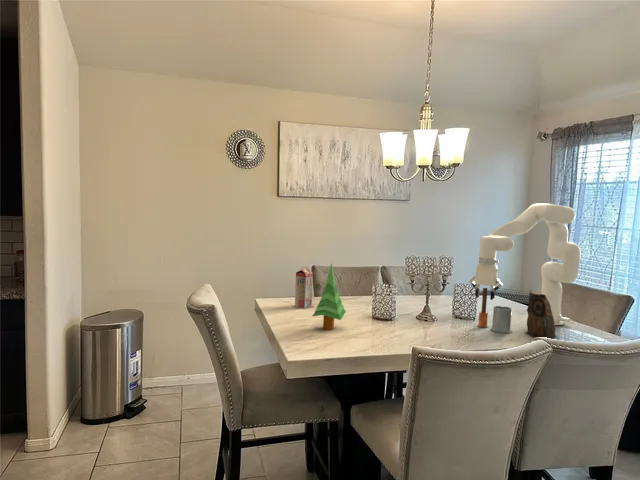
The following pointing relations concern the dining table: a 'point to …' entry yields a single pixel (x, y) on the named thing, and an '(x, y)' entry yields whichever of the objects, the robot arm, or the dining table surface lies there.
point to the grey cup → (501, 319)
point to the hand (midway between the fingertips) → (484, 298)
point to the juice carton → (303, 288)
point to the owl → (540, 316)
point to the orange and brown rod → (483, 310)
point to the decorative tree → (330, 303)
